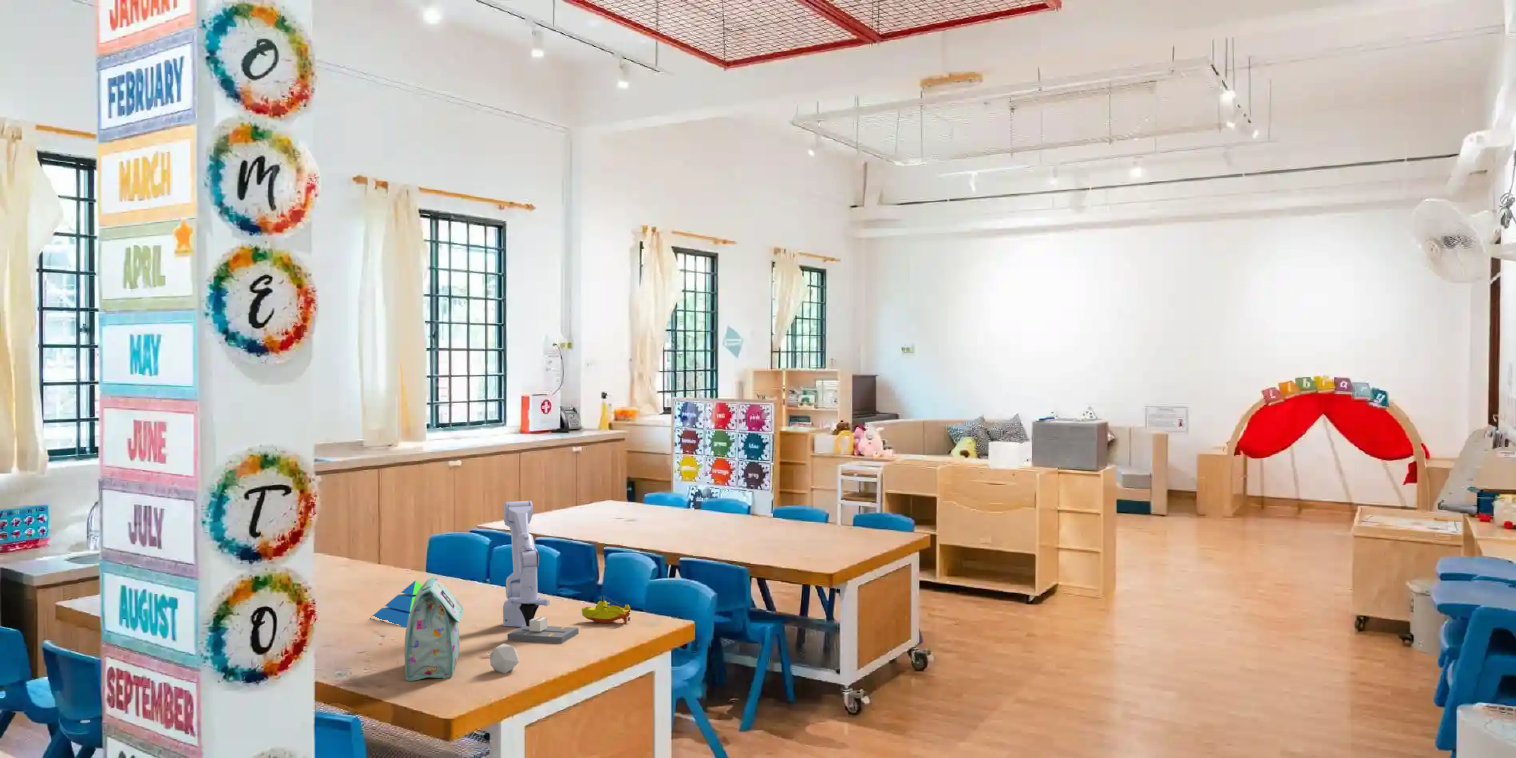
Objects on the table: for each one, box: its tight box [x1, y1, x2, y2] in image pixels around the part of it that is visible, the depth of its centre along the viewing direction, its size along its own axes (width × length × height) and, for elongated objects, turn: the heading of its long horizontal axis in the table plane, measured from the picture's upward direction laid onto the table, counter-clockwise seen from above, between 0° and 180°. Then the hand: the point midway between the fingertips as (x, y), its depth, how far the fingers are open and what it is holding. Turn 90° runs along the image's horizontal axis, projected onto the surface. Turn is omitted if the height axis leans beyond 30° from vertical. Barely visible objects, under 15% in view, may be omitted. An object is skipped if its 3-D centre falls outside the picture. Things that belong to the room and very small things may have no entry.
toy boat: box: [581, 594, 631, 624], centre depth 357 cm, size 6×18×10 cm, turn 78°
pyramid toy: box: [372, 580, 423, 628], centre depth 370 cm, size 25×25×14 cm
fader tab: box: [529, 616, 548, 632], centre depth 339 cm, size 4×5×4 cm
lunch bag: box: [404, 577, 464, 682], centre depth 301 cm, size 23×16×27 cm
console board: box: [506, 625, 580, 644], centre depth 338 cm, size 20×13×2 cm, turn 75°
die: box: [489, 642, 520, 675], centre depth 299 cm, size 8×9×10 cm
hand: (529, 625), depth 339 cm, fingers closed
